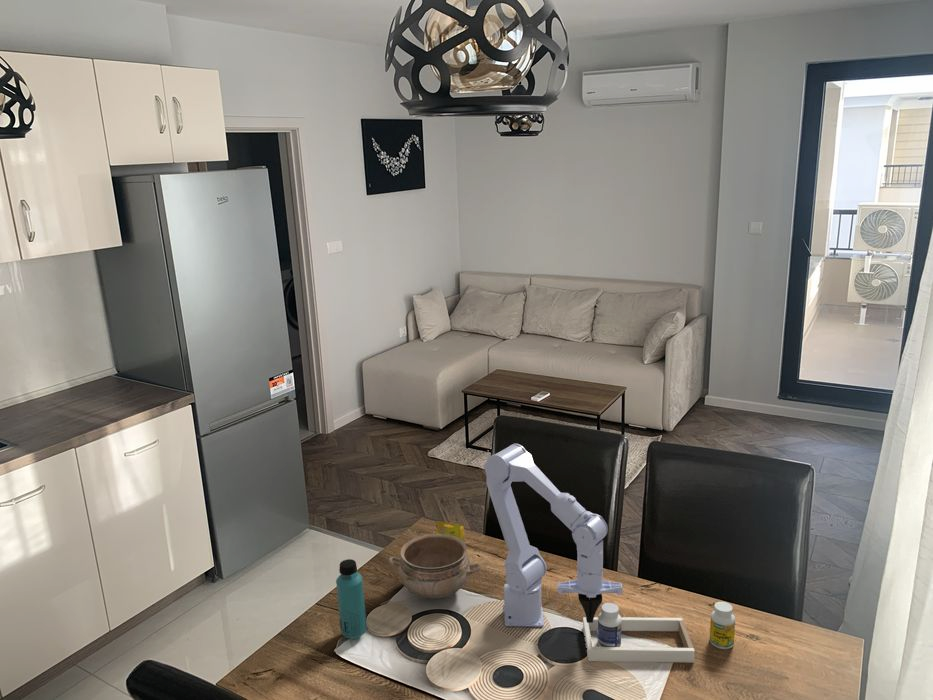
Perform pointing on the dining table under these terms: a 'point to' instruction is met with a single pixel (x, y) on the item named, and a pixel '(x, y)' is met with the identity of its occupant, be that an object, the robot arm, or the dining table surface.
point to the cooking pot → (434, 565)
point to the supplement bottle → (722, 626)
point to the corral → (641, 652)
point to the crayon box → (451, 529)
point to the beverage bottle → (351, 600)
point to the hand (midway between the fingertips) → (589, 620)
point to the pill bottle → (609, 626)
